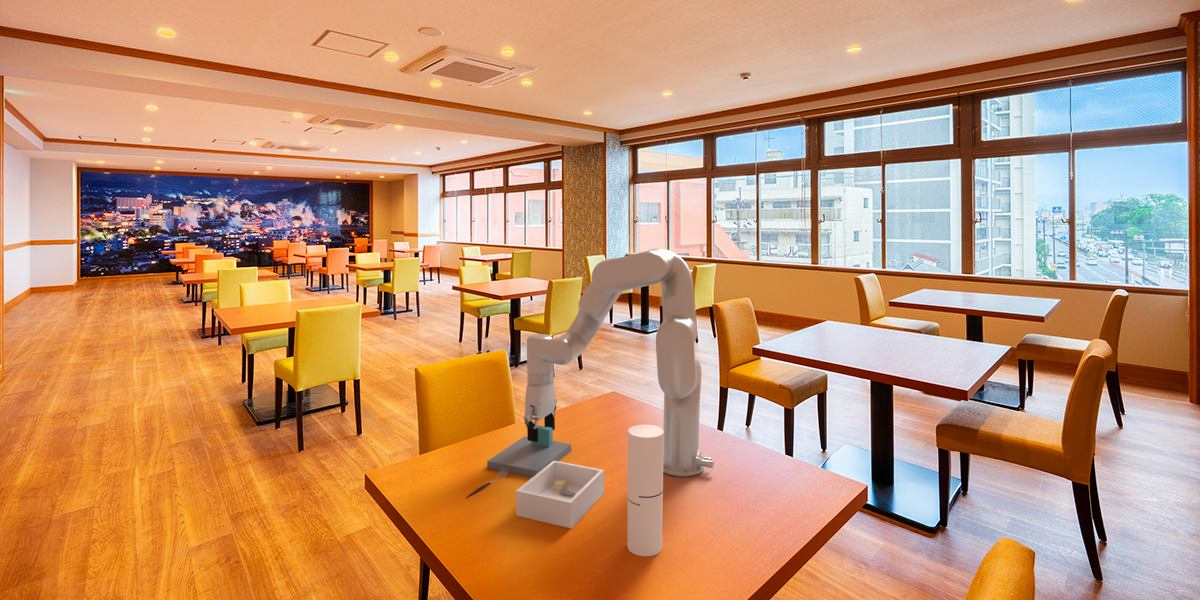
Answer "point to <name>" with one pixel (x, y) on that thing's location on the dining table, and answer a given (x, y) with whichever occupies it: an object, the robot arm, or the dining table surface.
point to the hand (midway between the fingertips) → (541, 435)
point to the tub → (560, 493)
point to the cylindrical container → (645, 489)
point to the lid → (530, 454)
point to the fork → (488, 483)
